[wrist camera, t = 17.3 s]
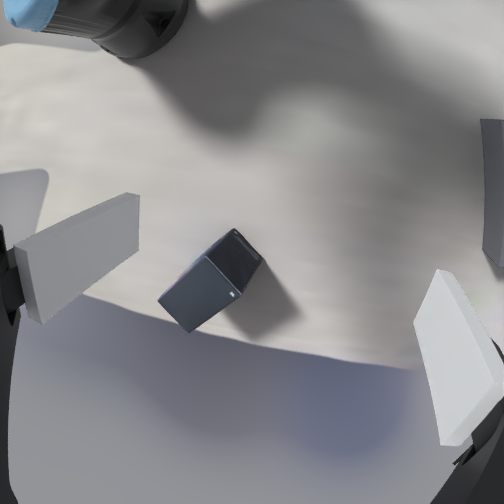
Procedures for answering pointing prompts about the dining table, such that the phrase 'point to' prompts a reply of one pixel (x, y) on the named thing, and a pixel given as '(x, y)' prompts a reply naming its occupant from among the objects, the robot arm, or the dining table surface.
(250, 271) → the small box
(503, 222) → the octagonal socket base
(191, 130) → the dining table surface
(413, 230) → the dining table surface
